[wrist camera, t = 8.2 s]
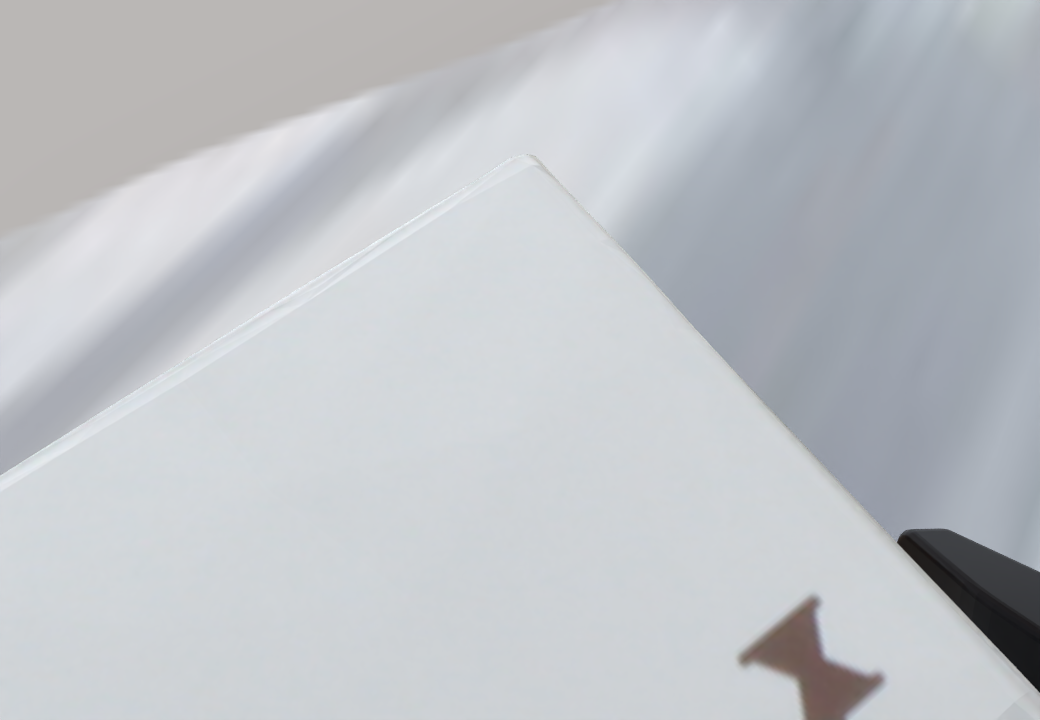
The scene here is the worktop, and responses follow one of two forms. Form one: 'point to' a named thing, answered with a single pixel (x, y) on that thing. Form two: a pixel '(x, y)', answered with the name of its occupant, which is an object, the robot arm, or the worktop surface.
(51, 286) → the worktop surface
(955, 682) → the skincare box
